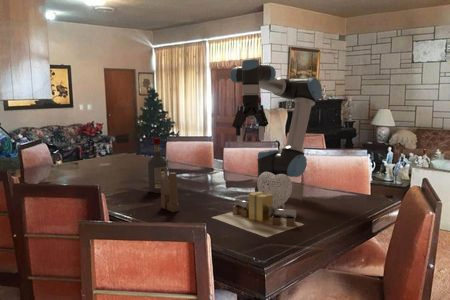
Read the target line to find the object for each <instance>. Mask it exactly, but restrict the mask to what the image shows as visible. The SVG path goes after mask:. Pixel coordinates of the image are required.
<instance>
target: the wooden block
mask: <svg viewBox="0 0 450 300" xmlns="http://www.w3.org/2000/svg"><path fill="white" fill-rule="evenodd" d="M177 177H178V175H177V172H173V171H172V172H168V180H167V178H163V179H160V186H161V193H160V203H161V209H164V210H167V211H169V212H171V213H176V212H179V211H180V203H179V202H178V180H177V179H178V178H177Z"/></svg>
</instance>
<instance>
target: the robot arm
mask: <svg viewBox="0 0 450 300" xmlns="http://www.w3.org/2000/svg"><path fill="white" fill-rule="evenodd" d="M276 74H277V72H276V69H275V67H274V66H272V65H269V64H267V65H266V64H265V65H264V64H260V61H259V59H256V58H247V59H243V60H242V62H241V66H236V67H233V68H232V69H231V70H230V73H229V78H230V81H232V83H237V84H242V85H241V88H242V91H241V92H242V94H243V95H242V96H241V99H242V104H243V105H237V111H236V114H235V117H234V120H233V122H232V125H231V126H232V128H234V129H235V135H236V141H237V144H243V139H244V138H243V128H242V127H243V125H244V123H245V121H246V120H247V117H251V116H253V117H254V118H255V119H256V121H257V123H258V124H259V126H258V140H259V141H262V142H263V141H265V133H266V127H268V125H269V121H268V118H267V116H266V113H265V109H264V105H263V104H259V103H260V95H259V94H260V89H261V90H265V91H267V92H271V93H272V94H273V95H275V96H277V97H280V98H284V99H287V100H293V102H294V108H293V113H292V117H291V123H290V126H289V129H288V135H287V140H286V145H285V146H284V147H283V148H282V149H281V152H280V150H279V149H267V150H262V151H259V152H257V159H256V160H257V180H256V183H255V186H254V193H255V192H259V191H258V187H257V181H258V177H259V176H260V175H261V174H262V173H263V172H270V173H273V174H274V175H278V174H285V175H287V176H288V177H289V178H298V177H301V176H302V175H303V174H304V173H305V171H306V169H307V165H308V162H307V157H306V156H305V151H303V147H304V142H305V138H306V133H307V129H308V124H309V121H310V115H311V111H312V107H314V106H315V105H316V101H318V100H320V99H321V97H322V94H323V89H322V84H321V81H320V80H319V79H318V78H316V77H310V76H309V77H300V78H299V77H298V78H296V77H295V78H282V77H278V78H276ZM263 176H264V175H263ZM269 176H270V175H269ZM269 176H267V177H269ZM267 177H266V178H267ZM264 178H265V177H264ZM264 178H263V179H264ZM270 179H271V178H270ZM273 180H274V179H273ZM279 181H280V180H279ZM266 182H267V181H266ZM270 182H271V181H270ZM273 182H274V181H273ZM264 183H265V182H264ZM277 183H278V182H277ZM269 184H270V183H269ZM269 184H268V183H267V185H269ZM275 184H276V183H275ZM275 184H274V185H275ZM272 185H273V184H272ZM273 187H274V186H273ZM276 187H277V186H276ZM279 187H280V186H279ZM263 188H264V186H263ZM269 188H270V187H269ZM260 190H261V189H260ZM263 192H264V191H263ZM275 195H276V194H275Z"/></svg>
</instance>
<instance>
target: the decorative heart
mask: <svg viewBox="0 0 450 300" xmlns="http://www.w3.org/2000/svg"><path fill="white" fill-rule="evenodd" d="M263 175H264V176H263ZM269 175H270V176H269ZM267 176H269V177H267ZM264 177H265V178H264ZM266 177H267V178H266ZM263 178H264V179H263ZM270 178H271V179H270ZM257 179H258V181H257V180H256V183H257V187H258V191H259V192H263V191H264V192H263V193H267V194H271V195H273V209H281V206H282V209H285V203H286V202H288V200H289V199H290V196H292V195H291V194H292V191H293V182H292V180H291V177H289V176H287V175H285V174H278V175H274V174H273V173H270V172H263V173H262V174H261V175H260V176H259V177H258V176H257ZM273 179H274V180H273ZM279 180H280V181H279ZM266 181H267V182H266ZM270 181H271V182H270ZM273 181H274V182H273ZM264 182H265V183H264ZM277 182H278V183H277ZM267 183H268V184H269V183H270V184H269V185H267ZM275 183H276V184H275ZM272 184H273V185H272ZM274 184H275V185H274ZM263 186H264V188H263ZM273 186H274V187H273ZM276 186H277V187H276ZM279 186H280V187H279ZM269 187H270V188H269ZM260 189H261V190H260ZM275 194H276V195H275Z"/></svg>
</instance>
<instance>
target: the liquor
mask: <svg viewBox="0 0 450 300" xmlns="http://www.w3.org/2000/svg"><path fill="white" fill-rule="evenodd" d="M152 141H153V155H152V157H151V159H149V161H148V163H147V165H148V166H147V168H148V190H149V192H150V193H153V192H154V194H161V186H160V179H163V178H167V180H168V181H169V173H168V161H167V160H166V158H165V157H163V156H162V153H161V138H160V137H153V140H152Z"/></svg>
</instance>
